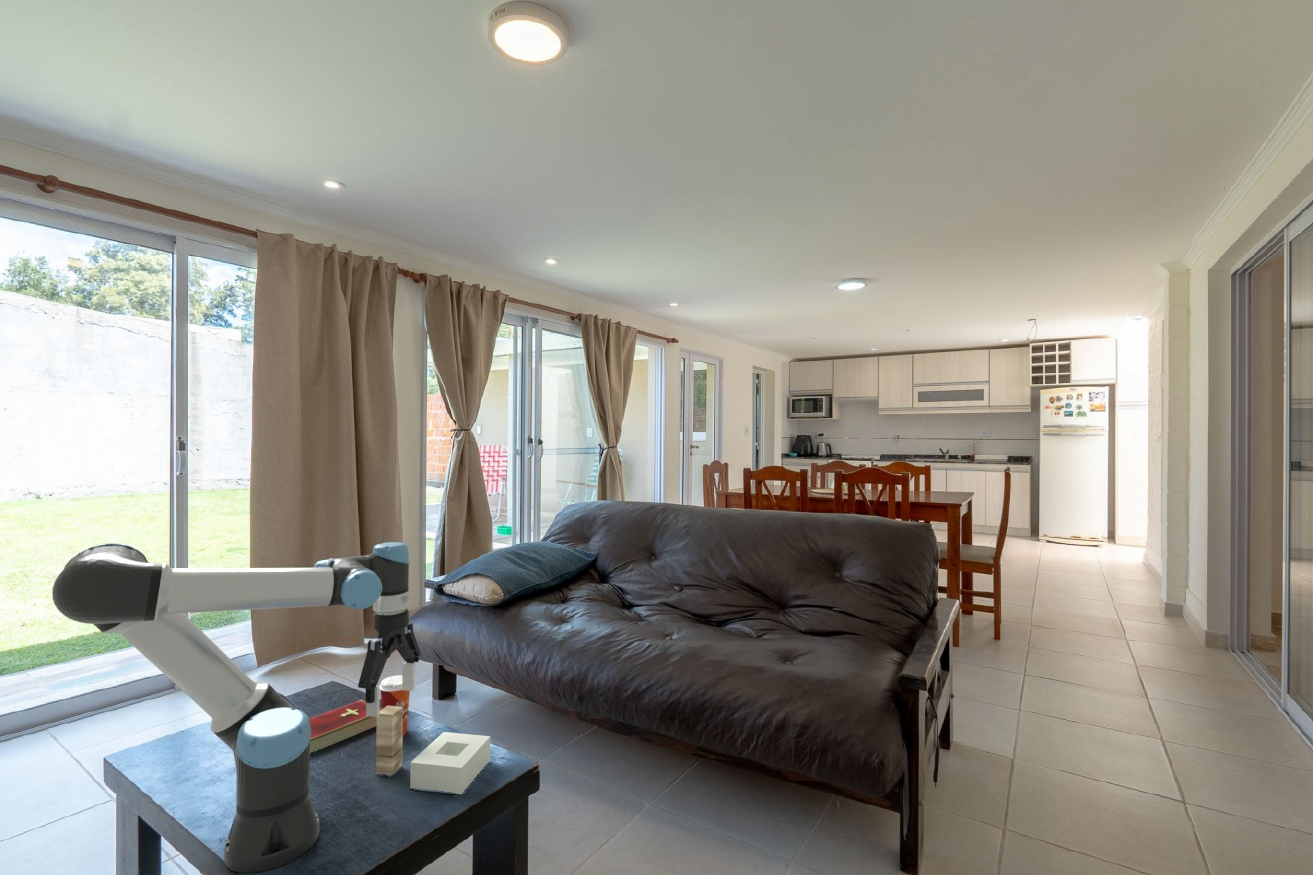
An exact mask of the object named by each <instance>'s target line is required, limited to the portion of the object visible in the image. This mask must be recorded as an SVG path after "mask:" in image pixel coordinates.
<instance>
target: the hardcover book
mask: <svg viewBox="0 0 1313 875" xmlns="http://www.w3.org/2000/svg"><path fill="white" fill-rule="evenodd" d="M381 710H382V707H380V706H379V711H381ZM309 721H310V727H311V739H310V754H312V753H311V752H313V751H315V752H318V751H320V750H323V749H325V748H327V747H329V746H332V745H334V744H336V743H339V742H341V741H344V740H346V739H348V738H351V737H353V736H356V735H358V734H361V733H363V732H365V731H368V730H370V729H372V728H375V727H377V717H371V716H366V700H363V699H360V700H357V701H354V702H351V703H348V704H346V705H343V706H340V707H338V708H335V709H332V710H329V711H326V712H324V713H321V714H319V715H318V714H317V715H316V716H312V717H310V718H309ZM319 749H320V750H319ZM317 750H318V751H317ZM313 753H314V752H313Z"/></svg>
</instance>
